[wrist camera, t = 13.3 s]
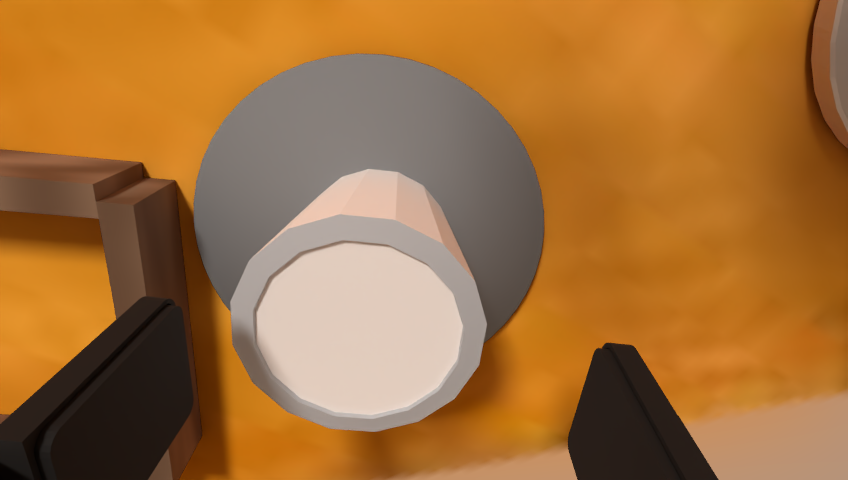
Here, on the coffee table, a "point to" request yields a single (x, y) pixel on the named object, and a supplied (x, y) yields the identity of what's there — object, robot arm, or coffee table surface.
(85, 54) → the coffee table surface
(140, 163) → the brown rectangular frame
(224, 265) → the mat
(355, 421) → the white cylinder
